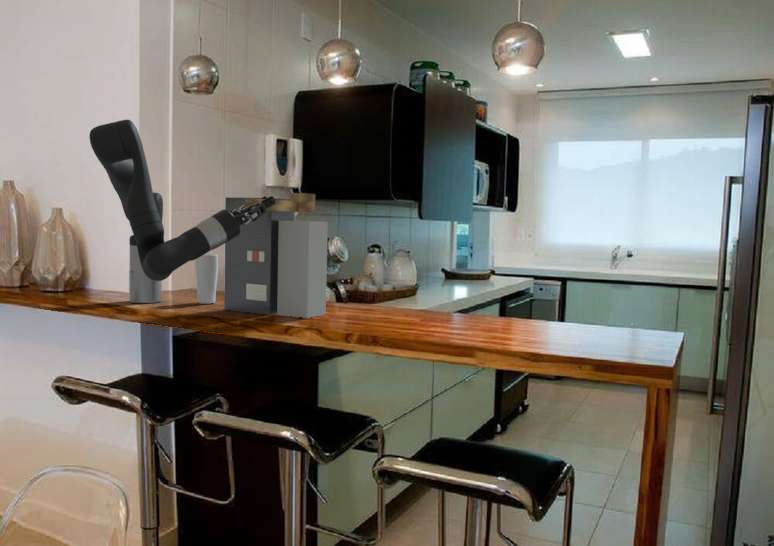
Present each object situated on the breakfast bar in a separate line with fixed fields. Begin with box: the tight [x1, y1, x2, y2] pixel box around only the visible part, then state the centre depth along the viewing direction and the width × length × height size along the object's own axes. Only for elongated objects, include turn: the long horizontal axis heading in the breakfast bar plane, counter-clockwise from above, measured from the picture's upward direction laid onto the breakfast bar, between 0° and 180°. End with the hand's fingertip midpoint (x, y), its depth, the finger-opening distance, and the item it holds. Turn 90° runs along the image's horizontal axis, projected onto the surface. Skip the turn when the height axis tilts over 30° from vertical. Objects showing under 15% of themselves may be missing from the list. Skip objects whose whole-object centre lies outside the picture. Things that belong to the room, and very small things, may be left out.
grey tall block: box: [276, 220, 329, 319], centre depth 179 cm, size 10×9×26 cm
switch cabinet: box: [223, 197, 295, 316], centre depth 184 cm, size 16×11×32 cm
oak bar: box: [244, 192, 316, 214], centre depth 173 cm, size 19×5×5 cm, turn 129°
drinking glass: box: [194, 253, 219, 305], centre depth 198 cm, size 7×7×15 cm
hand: (270, 199), depth 171 cm, fingers closed on oak bar, 3 cm apart
